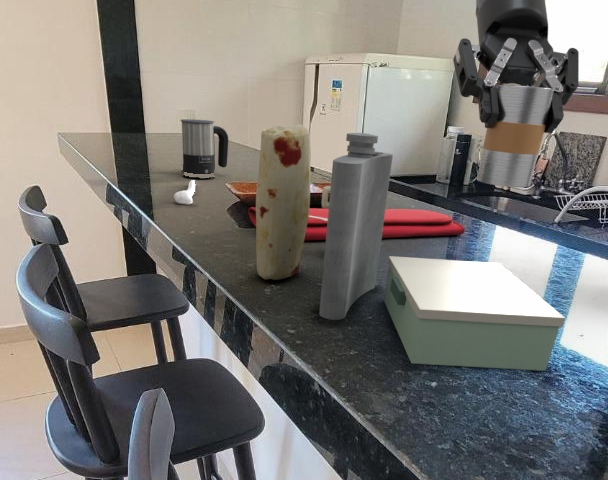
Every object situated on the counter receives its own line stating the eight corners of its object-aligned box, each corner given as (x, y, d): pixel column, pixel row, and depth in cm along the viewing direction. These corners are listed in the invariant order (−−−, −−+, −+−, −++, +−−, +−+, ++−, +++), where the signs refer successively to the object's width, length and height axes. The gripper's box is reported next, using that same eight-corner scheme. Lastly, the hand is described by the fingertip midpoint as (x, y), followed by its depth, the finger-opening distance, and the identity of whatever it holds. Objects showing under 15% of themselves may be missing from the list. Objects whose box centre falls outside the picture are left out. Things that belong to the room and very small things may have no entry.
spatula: (181, 183, 139) (181, 172, 138) (197, 184, 140) (197, 173, 138) (173, 204, 114) (172, 191, 113) (192, 205, 115) (192, 192, 114)
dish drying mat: (465, 237, 107) (469, 218, 105) (274, 244, 91) (275, 222, 89) (420, 219, 120) (423, 202, 118) (246, 223, 104) (247, 203, 102)
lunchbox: (493, 307, 71) (504, 263, 68) (554, 372, 54) (571, 318, 51) (377, 300, 70) (383, 255, 67) (403, 364, 53) (413, 308, 51)
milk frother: (199, 180, 145) (198, 121, 138) (158, 172, 152) (155, 116, 146) (232, 176, 156) (233, 121, 149) (193, 169, 163) (192, 116, 156)
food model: (286, 289, 71) (296, 126, 62) (242, 280, 73) (245, 121, 64) (312, 270, 79) (324, 125, 70) (271, 263, 81) (278, 120, 72)
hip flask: (340, 321, 62) (360, 138, 53) (308, 314, 63) (322, 134, 54) (377, 285, 75) (398, 132, 66) (350, 279, 77) (367, 129, 68)
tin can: (518, 180, 65) (540, 89, 60) (539, 188, 60) (565, 89, 55) (469, 177, 65) (488, 85, 60) (485, 185, 59) (507, 84, 55)
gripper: (461, -27, 59) (469, 93, 54) (586, -15, 60) (607, 104, 54) (440, 33, 66) (446, 144, 61) (553, 43, 67) (568, 153, 62)
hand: (522, 124), depth 58 cm, fingers closed on tin can, 6 cm apart
